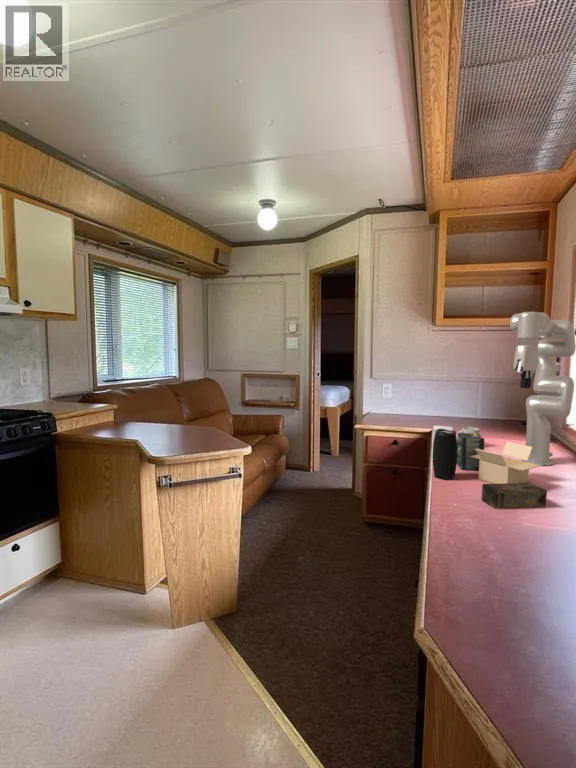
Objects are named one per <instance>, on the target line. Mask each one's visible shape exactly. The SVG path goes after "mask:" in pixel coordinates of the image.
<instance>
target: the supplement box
mask: <svg viewBox="0 0 576 768" xmlns="http://www.w3.org/2000/svg"><path fill="white" fill-rule="evenodd" d="M453 428H454V427H453V426H444V425H433V429H432V442H431V443H432V445H431V459H432V460H433V442H434V437H435V432H436V430H437V429H446V430H450V431H453V430H454V429H453Z"/></svg>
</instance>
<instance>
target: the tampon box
mask: <svg viewBox="0 0 576 768" xmlns="http://www.w3.org/2000/svg"><path fill="white" fill-rule="evenodd" d="M457 433H458V432H457ZM476 449H480V450H484V451H485V438H484V437H483V436H482V435H480V434H471V433H462V432H461V433H458V437H457V465H456V466H458V467H459V469H460V470H461V471H474V472H475V471H476V472H479V460H480V459H476V458H472V457H470V456H474V455H478V453H477V451H476Z"/></svg>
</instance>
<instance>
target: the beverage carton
mask: <svg viewBox="0 0 576 768" xmlns="http://www.w3.org/2000/svg"><path fill="white" fill-rule="evenodd" d="M481 487H482V488H481V501H483V502H484V503H485V502H486V503H485V504H486V505H488V506H490V507H491V508H493V509H509V508H510V509H511V508H513V509H514V508H515V509H516V508H518V509H519V508H540V507H541V508H543V507H546V506H547V505H546V504H547V494H548V490H546V489H545V488H543V487H540V486H539V485H537V484H536V483H534V482H530V483H529V482H528V483H525V484H523V483H505V484H491V483H482V486H481Z"/></svg>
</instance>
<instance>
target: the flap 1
mask: <svg viewBox="0 0 576 768" xmlns="http://www.w3.org/2000/svg"><path fill="white" fill-rule="evenodd" d="M476 451H477V453H478V455H479V456H480V458H481V459H482V460H486V461H490V462H493V463H497V464H501V465H505V466H507V465H506V463H505V461H504V459H503V457H504V456H503V455H502V454H500V453H495V452H491V451H487V450H485V449H484V450H480V449H476ZM502 456H503V457H502Z"/></svg>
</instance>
